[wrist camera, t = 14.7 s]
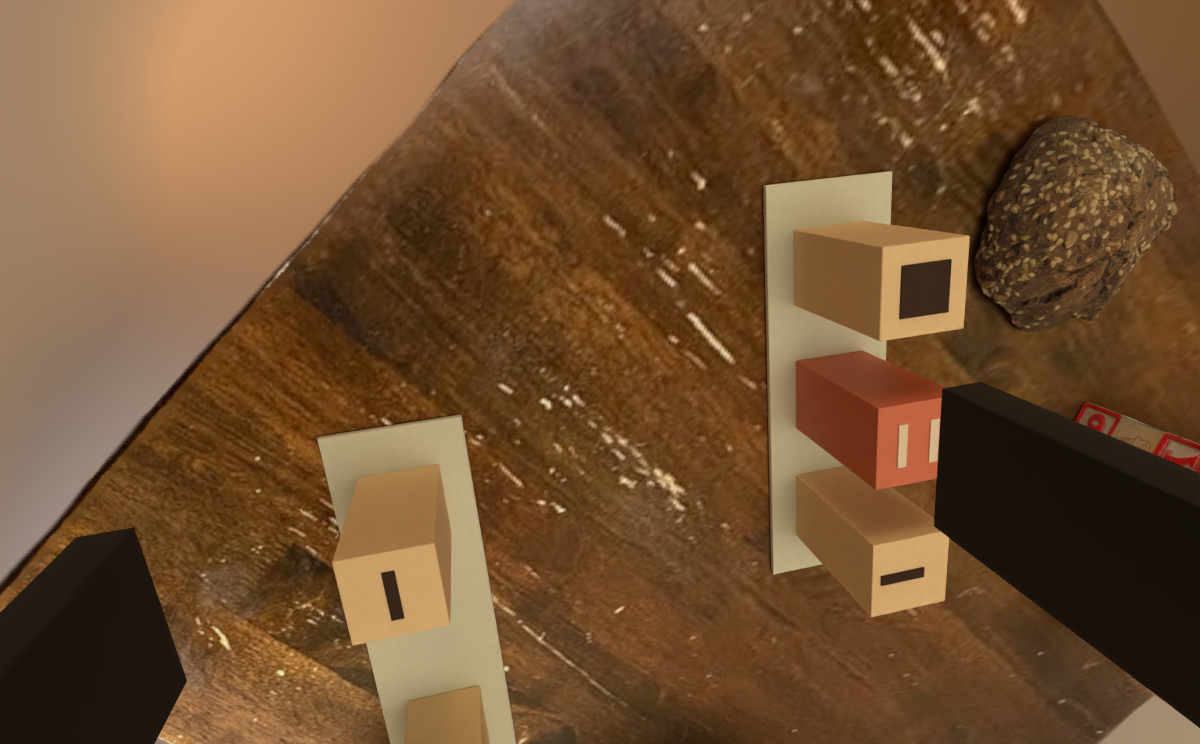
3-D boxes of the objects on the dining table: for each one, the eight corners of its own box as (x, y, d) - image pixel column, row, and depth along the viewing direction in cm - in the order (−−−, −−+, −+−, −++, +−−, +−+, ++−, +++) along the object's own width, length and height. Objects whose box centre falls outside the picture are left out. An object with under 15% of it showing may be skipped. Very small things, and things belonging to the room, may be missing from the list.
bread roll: (1047, 89, 42) (1122, 79, 37) (1173, 187, 45) (1255, 190, 41) (932, 278, 44) (989, 292, 39) (1061, 358, 47) (1127, 379, 43)
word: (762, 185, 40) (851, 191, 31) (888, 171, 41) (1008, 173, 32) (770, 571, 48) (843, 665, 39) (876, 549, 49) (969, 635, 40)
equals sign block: (795, 360, 43) (879, 409, 34) (862, 349, 44) (961, 395, 35) (795, 428, 44) (877, 491, 36) (861, 417, 45) (955, 476, 37)
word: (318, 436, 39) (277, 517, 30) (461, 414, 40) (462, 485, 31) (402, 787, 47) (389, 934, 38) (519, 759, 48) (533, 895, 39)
